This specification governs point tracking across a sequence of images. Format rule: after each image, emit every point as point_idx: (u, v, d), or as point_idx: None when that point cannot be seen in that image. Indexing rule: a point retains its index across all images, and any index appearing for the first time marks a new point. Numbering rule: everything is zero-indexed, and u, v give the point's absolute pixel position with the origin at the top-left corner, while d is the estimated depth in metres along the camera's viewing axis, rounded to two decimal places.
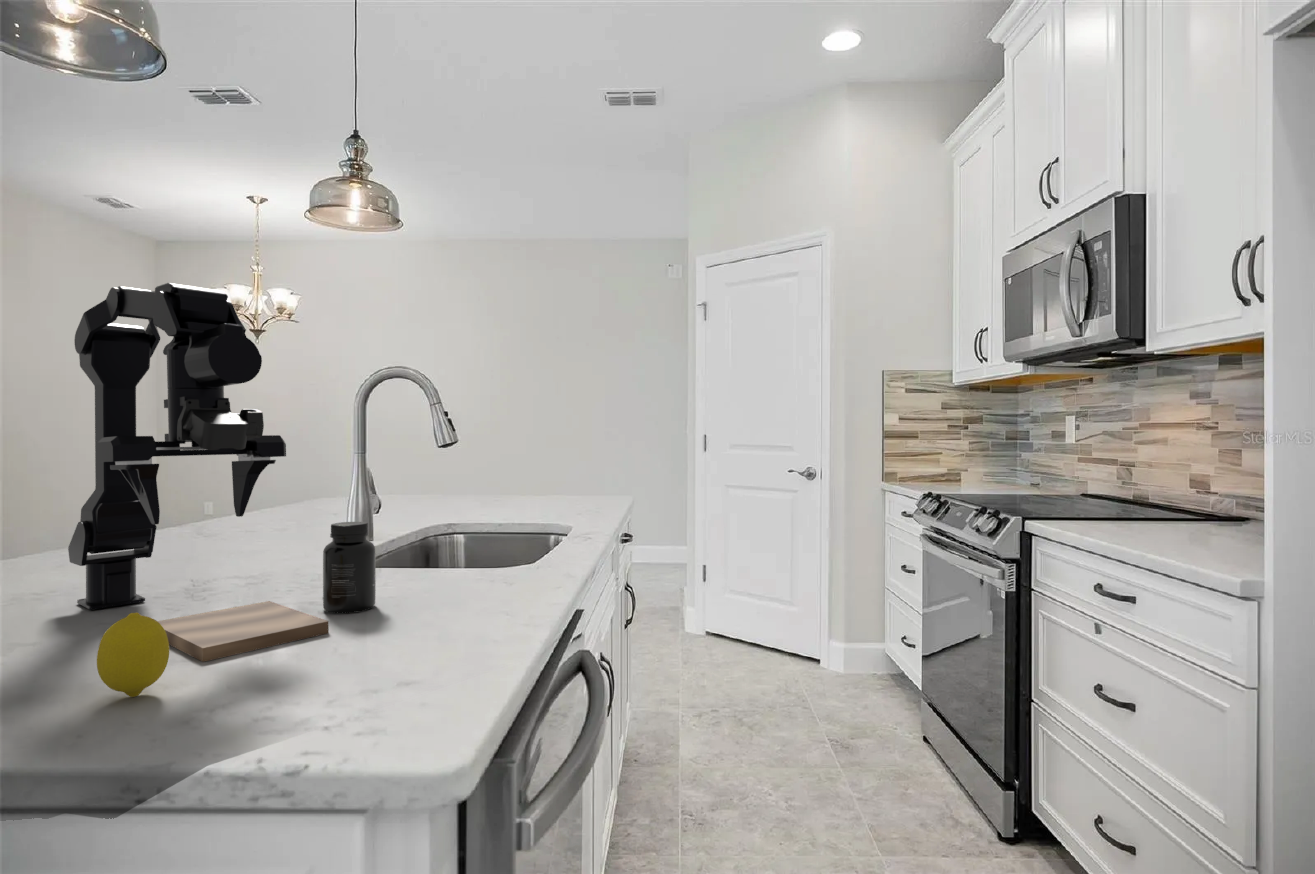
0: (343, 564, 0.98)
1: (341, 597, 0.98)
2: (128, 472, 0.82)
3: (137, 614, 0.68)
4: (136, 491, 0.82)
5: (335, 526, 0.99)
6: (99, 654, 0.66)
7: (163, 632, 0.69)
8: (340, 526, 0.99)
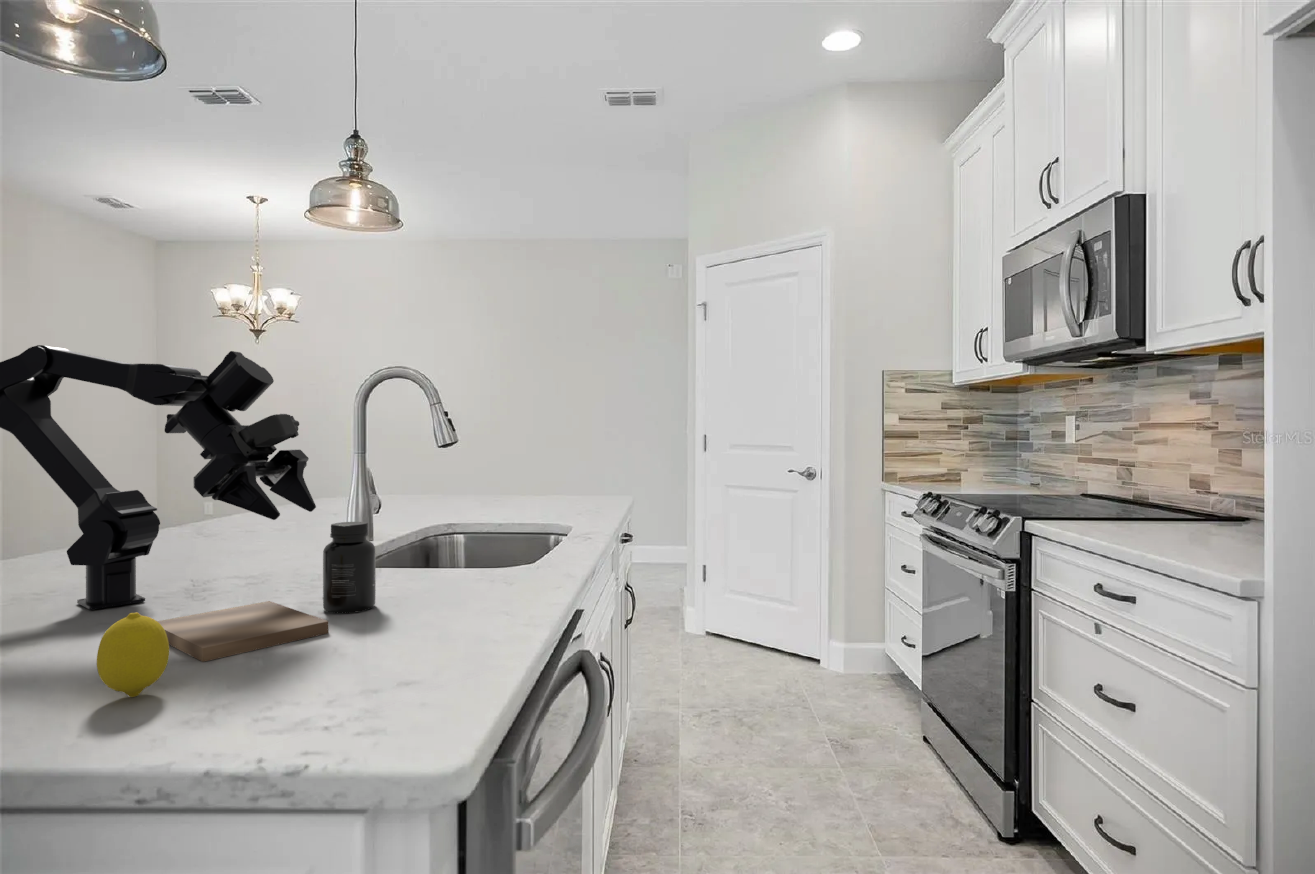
0: (343, 564, 0.98)
1: (341, 597, 0.98)
2: (228, 495, 0.95)
3: (137, 614, 0.68)
4: (244, 505, 0.95)
5: (335, 526, 0.99)
6: (99, 654, 0.66)
7: (163, 632, 0.69)
8: (340, 526, 0.99)
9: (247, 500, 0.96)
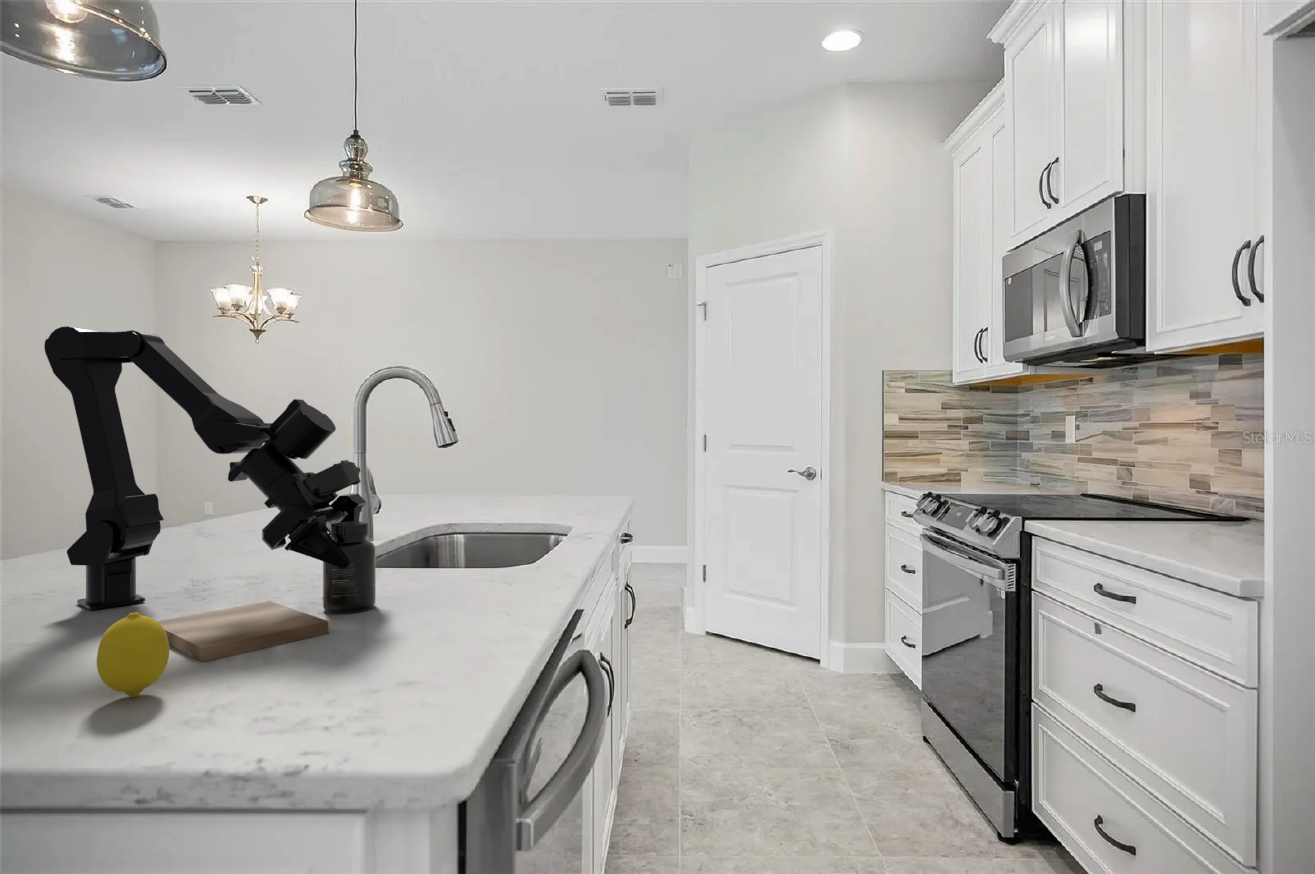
0: None
1: (341, 597, 0.98)
2: (300, 545, 0.96)
3: (137, 614, 0.68)
4: (315, 554, 0.96)
5: (335, 526, 0.99)
6: (99, 654, 0.66)
7: (163, 632, 0.69)
8: (340, 526, 0.99)
9: (318, 550, 0.96)
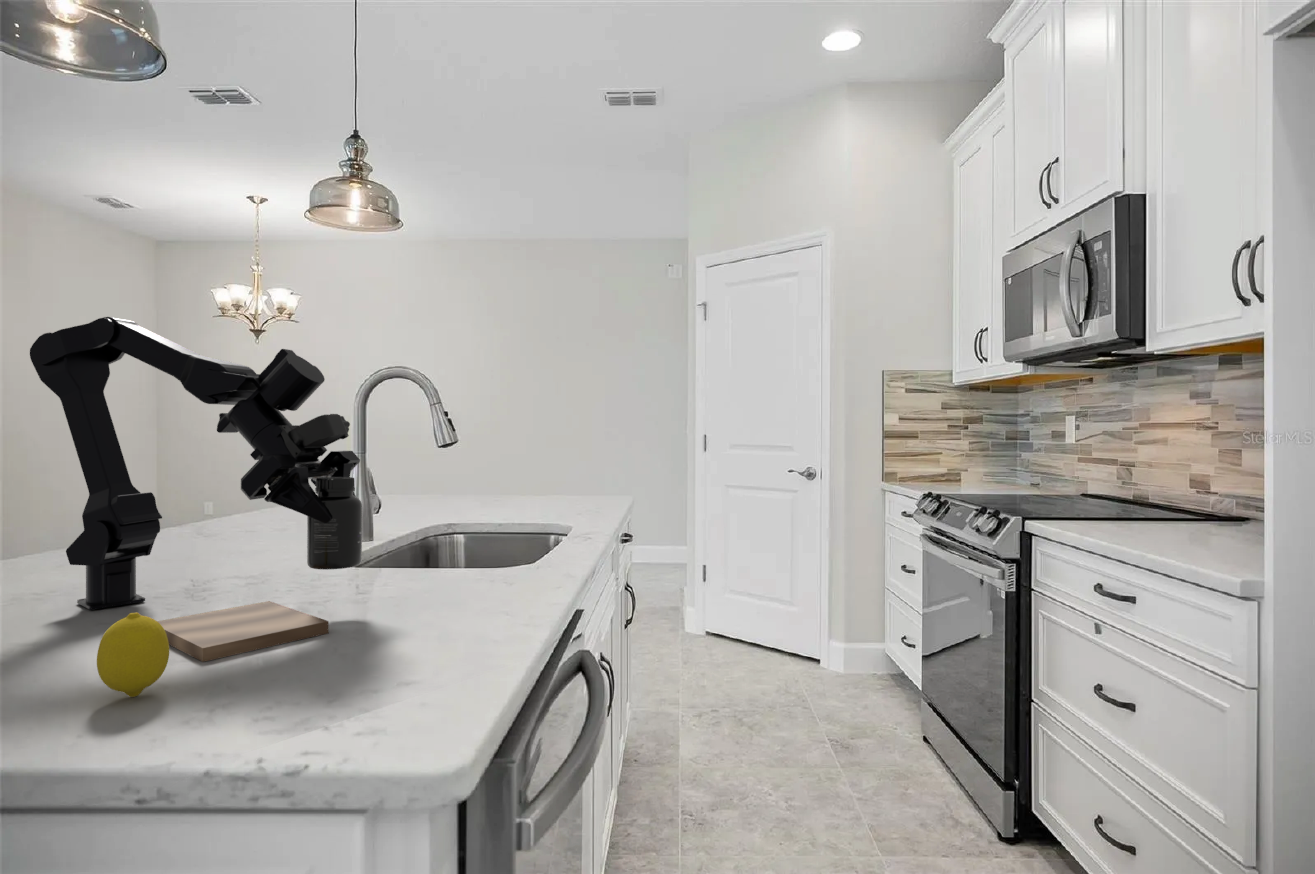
0: None
1: (323, 552, 0.94)
2: (281, 497, 0.93)
3: (137, 614, 0.68)
4: (296, 507, 0.93)
5: (319, 479, 0.96)
6: (99, 654, 0.66)
7: (163, 632, 0.69)
8: (324, 479, 0.95)
9: (299, 502, 0.93)
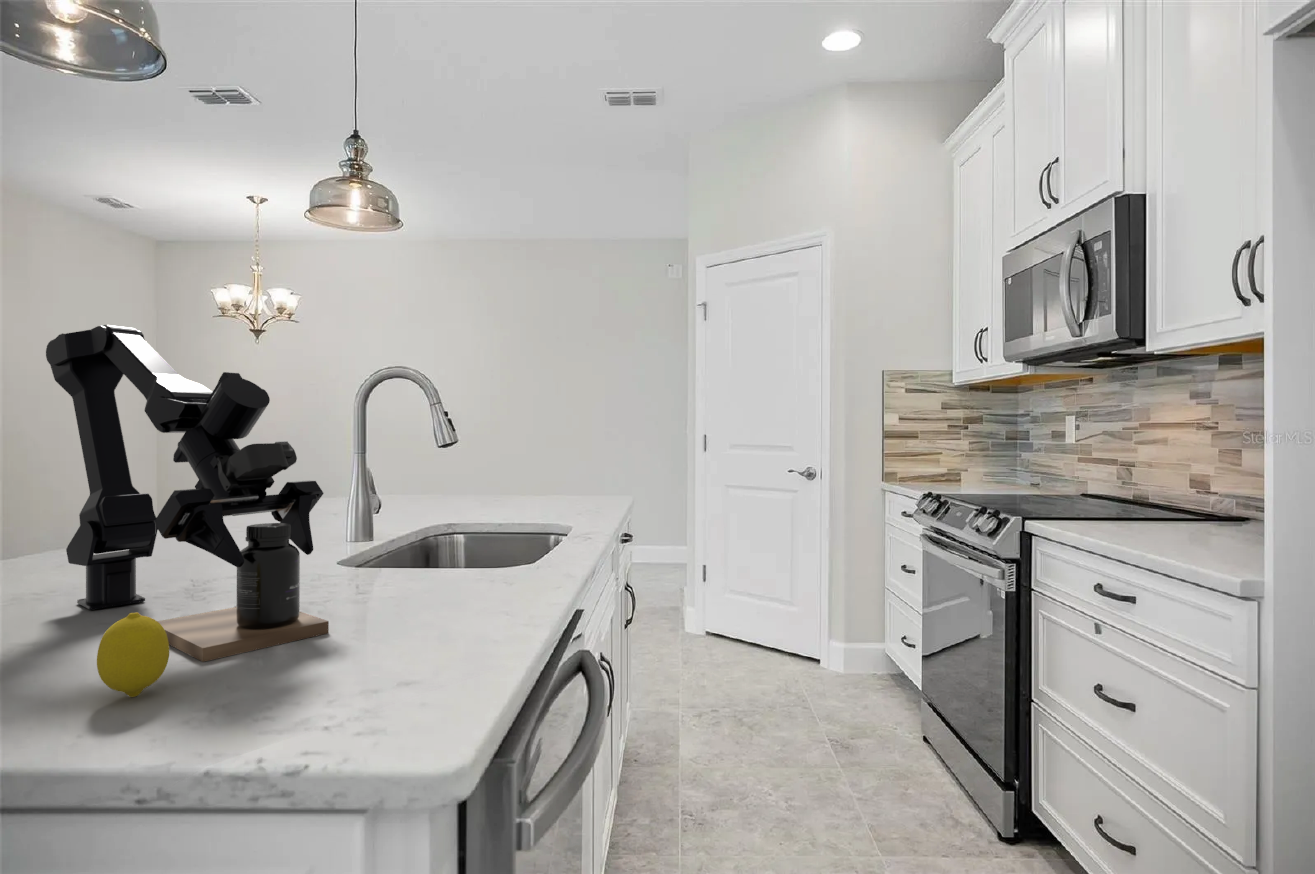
0: (247, 572, 0.85)
1: (245, 610, 0.85)
2: (194, 536, 0.84)
3: (137, 614, 0.68)
4: (209, 548, 0.83)
5: (247, 527, 0.86)
6: (99, 654, 0.66)
7: (163, 632, 0.69)
8: (250, 528, 0.86)
9: (212, 543, 0.83)
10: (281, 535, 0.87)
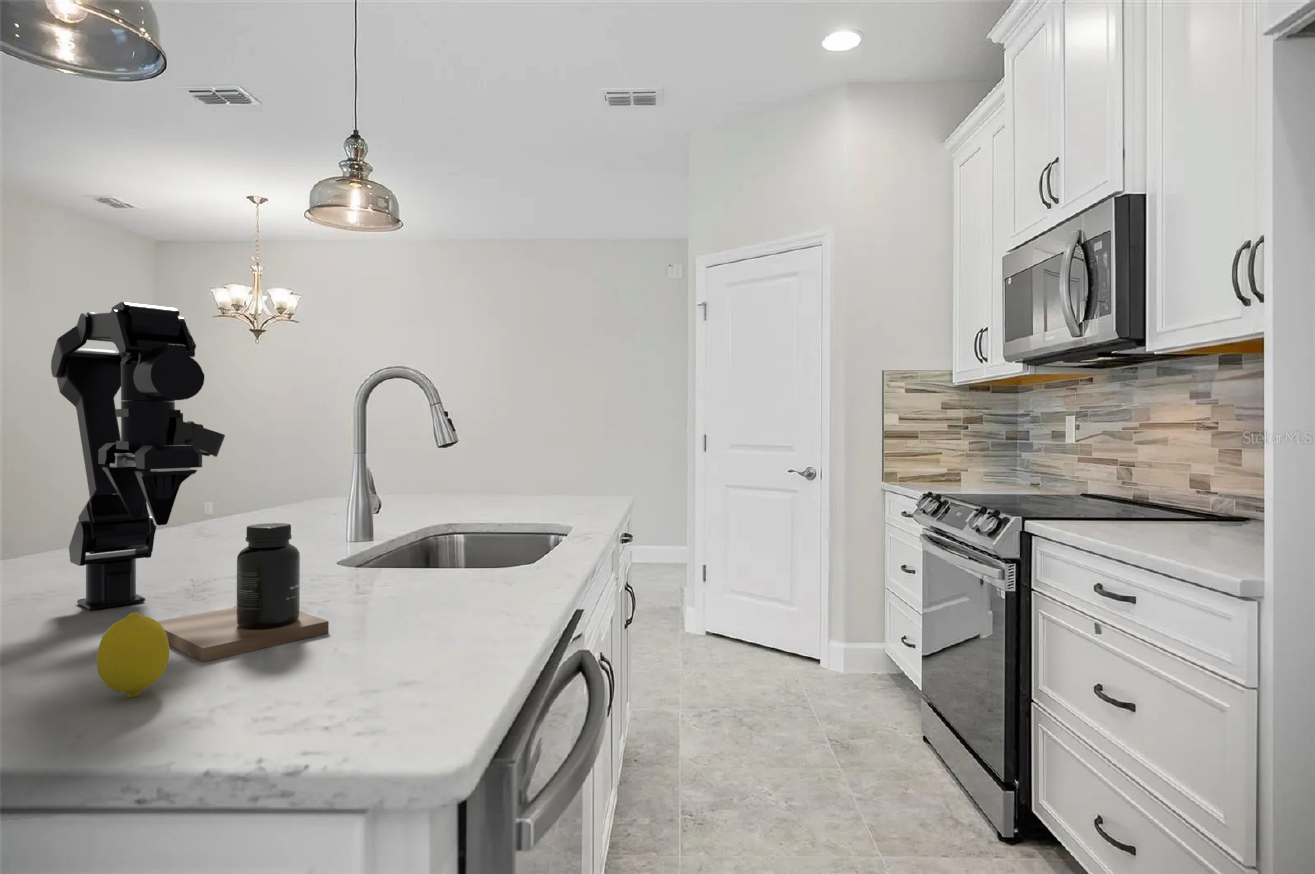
0: (247, 572, 0.85)
1: (245, 610, 0.85)
2: (151, 478, 0.88)
3: (137, 614, 0.68)
4: (152, 495, 0.89)
5: (247, 527, 0.86)
6: (99, 654, 0.66)
7: (163, 632, 0.69)
8: (250, 528, 0.86)
9: (158, 493, 0.89)
10: (281, 535, 0.87)
